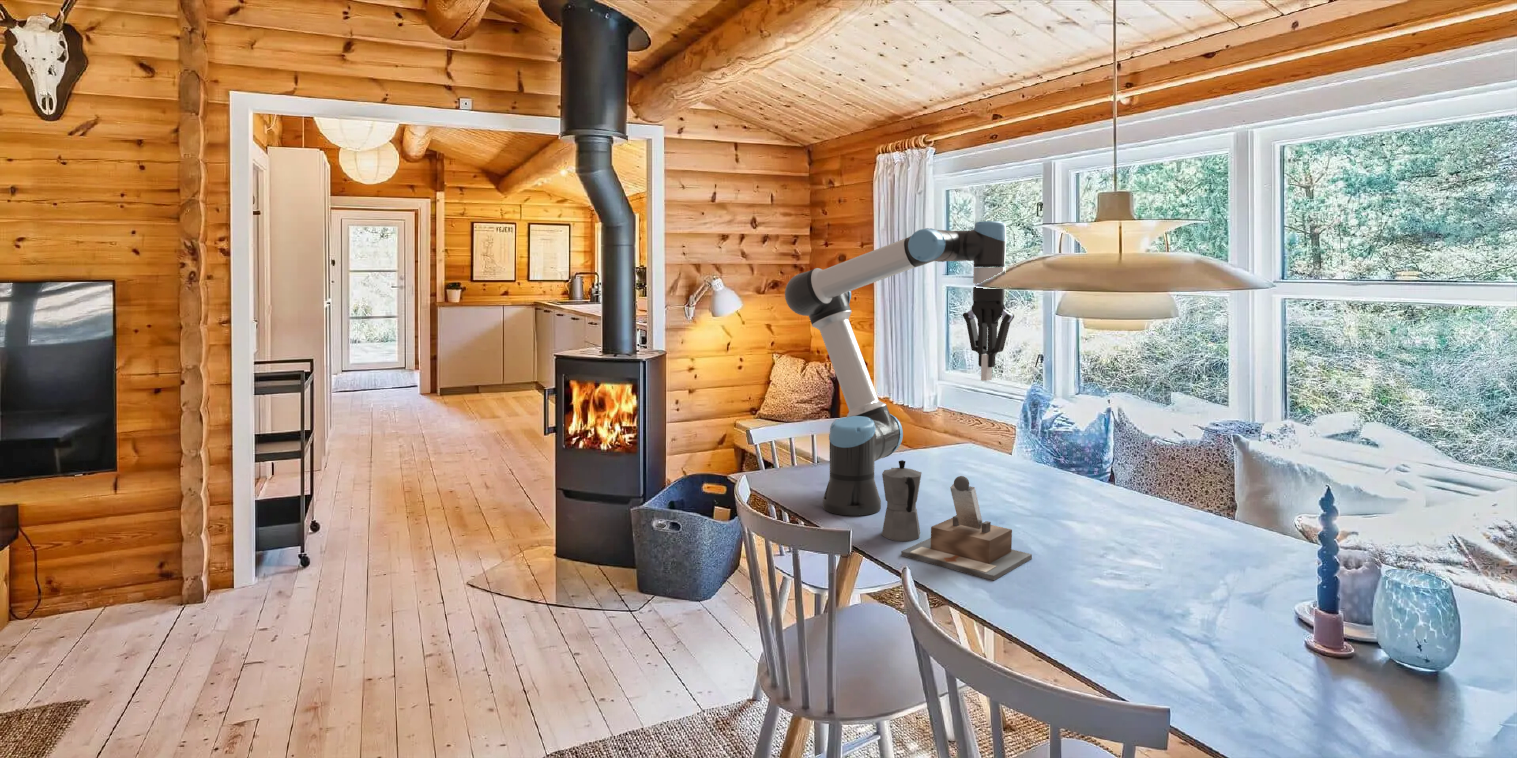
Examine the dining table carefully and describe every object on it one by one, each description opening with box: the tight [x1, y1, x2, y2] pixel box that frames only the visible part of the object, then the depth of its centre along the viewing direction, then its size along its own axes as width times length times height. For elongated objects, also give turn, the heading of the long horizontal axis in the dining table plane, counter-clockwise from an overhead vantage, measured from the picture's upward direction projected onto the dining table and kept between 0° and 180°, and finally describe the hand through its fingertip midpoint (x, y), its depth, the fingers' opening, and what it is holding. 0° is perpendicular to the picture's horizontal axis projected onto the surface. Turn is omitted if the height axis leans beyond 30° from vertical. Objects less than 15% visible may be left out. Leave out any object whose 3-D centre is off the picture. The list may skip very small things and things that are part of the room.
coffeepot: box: [881, 459, 922, 542], centre depth 193 cm, size 15×9×18 cm, turn 6°
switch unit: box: [900, 514, 1033, 581], centre depth 179 cm, size 22×17×8 cm
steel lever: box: [949, 475, 984, 529], centre depth 177 cm, size 5×3×13 cm, turn 47°
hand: (986, 380), depth 207 cm, fingers closed
